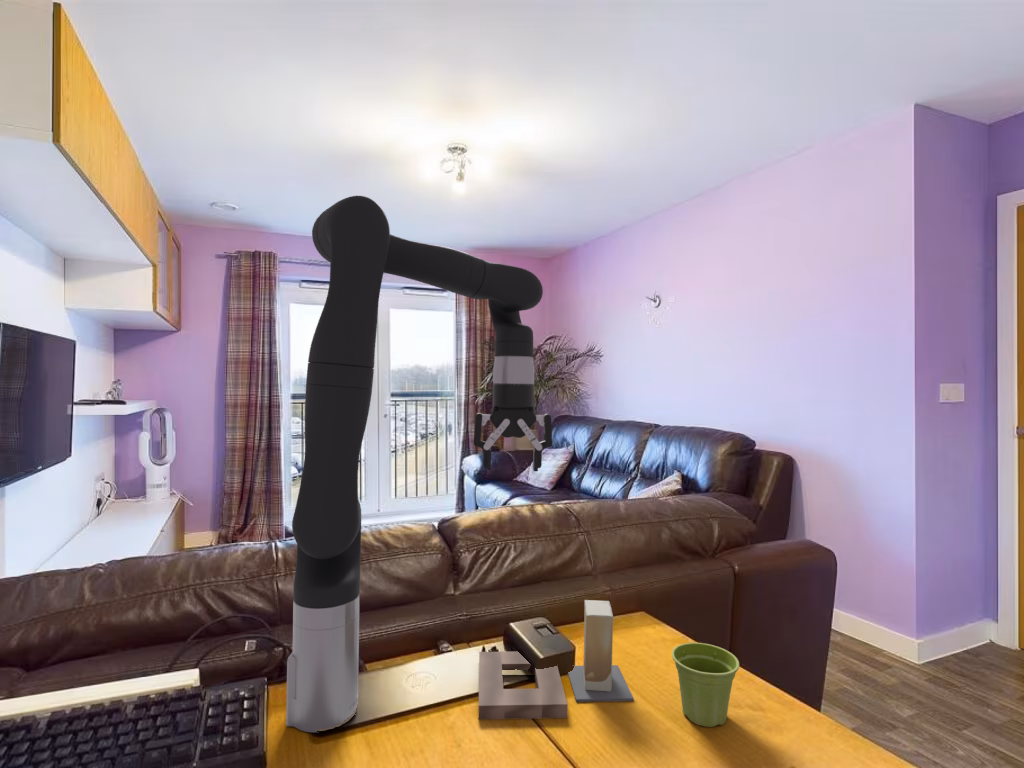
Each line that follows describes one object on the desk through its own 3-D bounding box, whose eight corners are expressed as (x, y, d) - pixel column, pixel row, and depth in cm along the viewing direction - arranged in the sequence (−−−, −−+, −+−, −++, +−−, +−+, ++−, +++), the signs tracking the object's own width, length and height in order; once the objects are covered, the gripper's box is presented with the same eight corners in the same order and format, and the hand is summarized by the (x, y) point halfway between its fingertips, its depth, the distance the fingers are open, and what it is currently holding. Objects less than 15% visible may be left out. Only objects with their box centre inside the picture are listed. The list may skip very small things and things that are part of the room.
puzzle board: (478, 719, 79) (478, 705, 79) (479, 663, 95) (479, 651, 95) (567, 717, 80) (567, 704, 80) (553, 662, 96) (553, 651, 96)
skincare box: (582, 670, 92) (583, 598, 92) (608, 672, 92) (609, 599, 92) (584, 691, 86) (585, 614, 86) (612, 693, 85) (613, 615, 86)
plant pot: (737, 743, 74) (737, 679, 75) (666, 724, 78) (667, 664, 78) (739, 707, 83) (740, 650, 83) (675, 692, 87) (676, 637, 87)
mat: (576, 701, 84) (576, 699, 84) (566, 668, 94) (566, 665, 94) (633, 700, 84) (633, 698, 84) (617, 667, 94) (617, 665, 94)
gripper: (474, 381, 95) (472, 473, 95) (555, 382, 96) (553, 474, 96) (474, 381, 103) (473, 467, 103) (549, 382, 104) (548, 467, 103)
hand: (512, 470), depth 99 cm, fingers open, 8 cm apart
